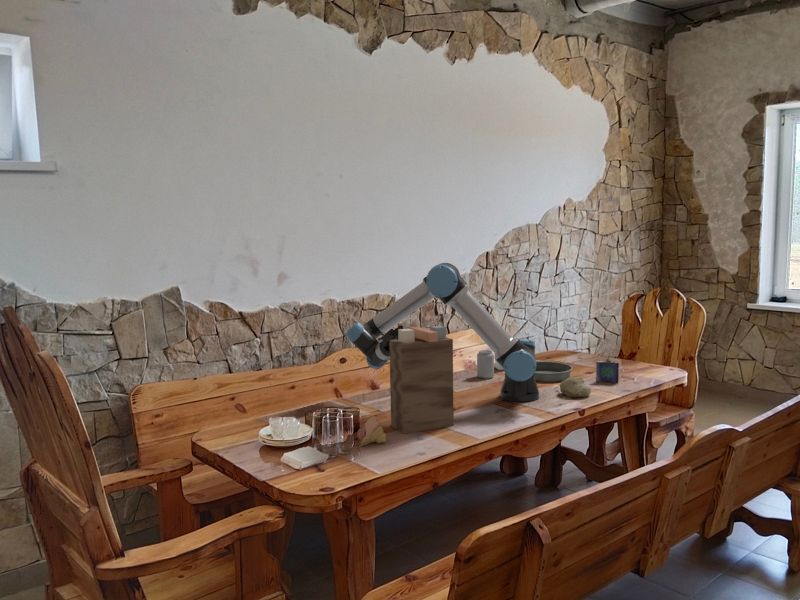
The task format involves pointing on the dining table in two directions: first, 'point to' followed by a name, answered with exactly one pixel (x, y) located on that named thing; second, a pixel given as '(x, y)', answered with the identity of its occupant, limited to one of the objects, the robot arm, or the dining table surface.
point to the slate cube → (439, 331)
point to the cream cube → (406, 335)
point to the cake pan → (552, 371)
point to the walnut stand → (421, 384)
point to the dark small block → (607, 371)
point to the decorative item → (574, 387)
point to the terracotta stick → (423, 333)
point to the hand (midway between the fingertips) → (412, 323)
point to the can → (485, 364)
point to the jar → (498, 366)
